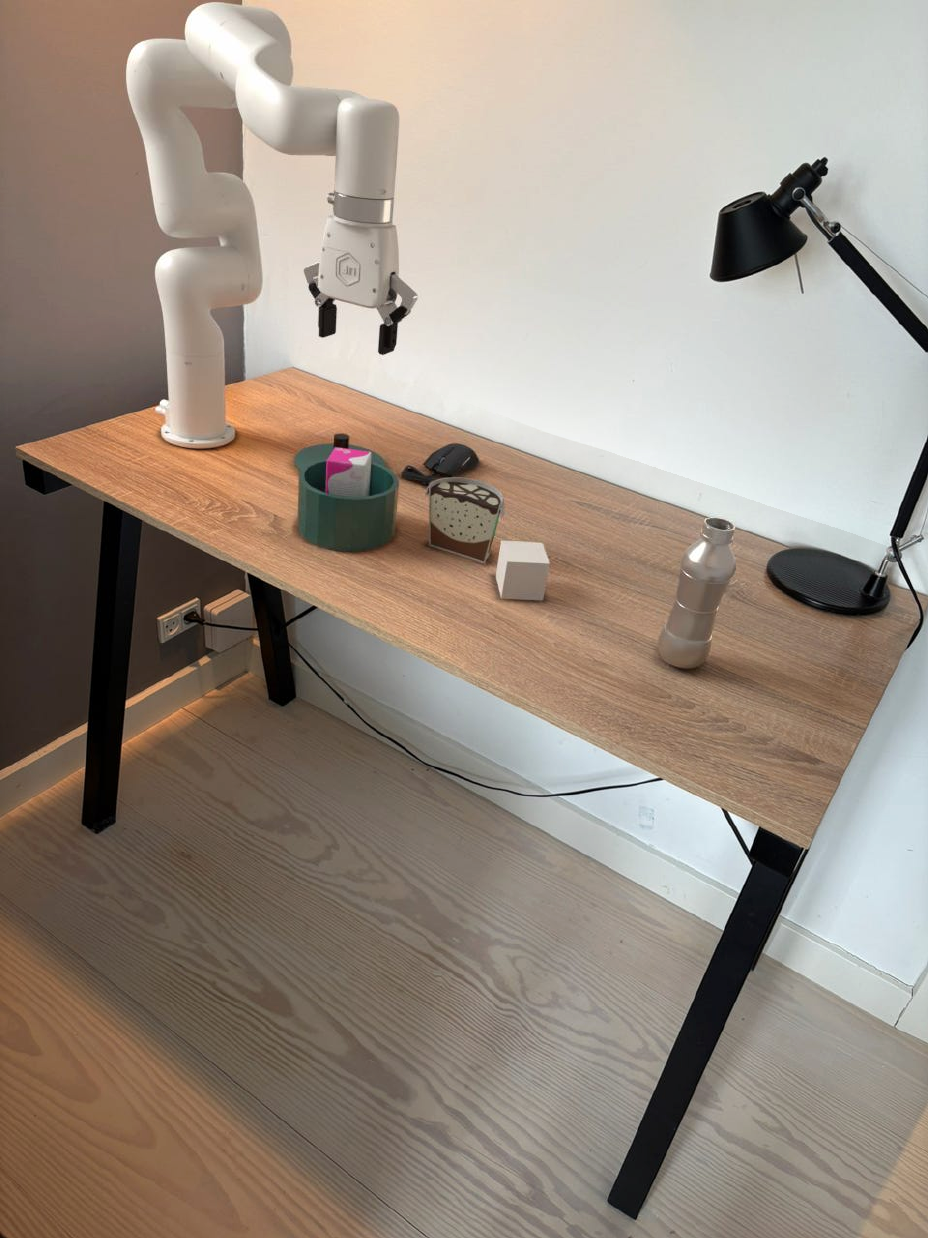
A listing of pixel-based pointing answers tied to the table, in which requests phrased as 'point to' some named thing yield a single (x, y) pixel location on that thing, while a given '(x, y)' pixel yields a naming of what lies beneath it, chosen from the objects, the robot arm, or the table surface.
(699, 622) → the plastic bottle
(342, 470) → the supplement box
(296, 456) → the tin lid
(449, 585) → the table surface
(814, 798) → the table surface
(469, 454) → the computer mouse
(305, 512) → the tin
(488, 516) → the food container
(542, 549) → the white cube
